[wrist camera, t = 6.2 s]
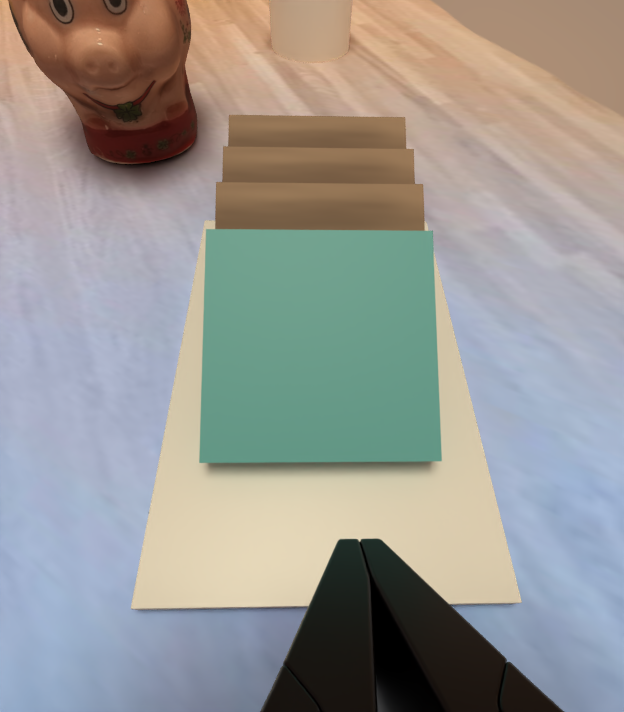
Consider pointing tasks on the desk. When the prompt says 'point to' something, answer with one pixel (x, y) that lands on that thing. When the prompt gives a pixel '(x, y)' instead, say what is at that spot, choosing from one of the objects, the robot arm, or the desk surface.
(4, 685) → the desk surface
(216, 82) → the desk surface
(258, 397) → the domino
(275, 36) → the base with upright slab
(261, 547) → the board
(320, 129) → the domino
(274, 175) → the brown flat square block
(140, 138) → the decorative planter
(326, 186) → the domino
